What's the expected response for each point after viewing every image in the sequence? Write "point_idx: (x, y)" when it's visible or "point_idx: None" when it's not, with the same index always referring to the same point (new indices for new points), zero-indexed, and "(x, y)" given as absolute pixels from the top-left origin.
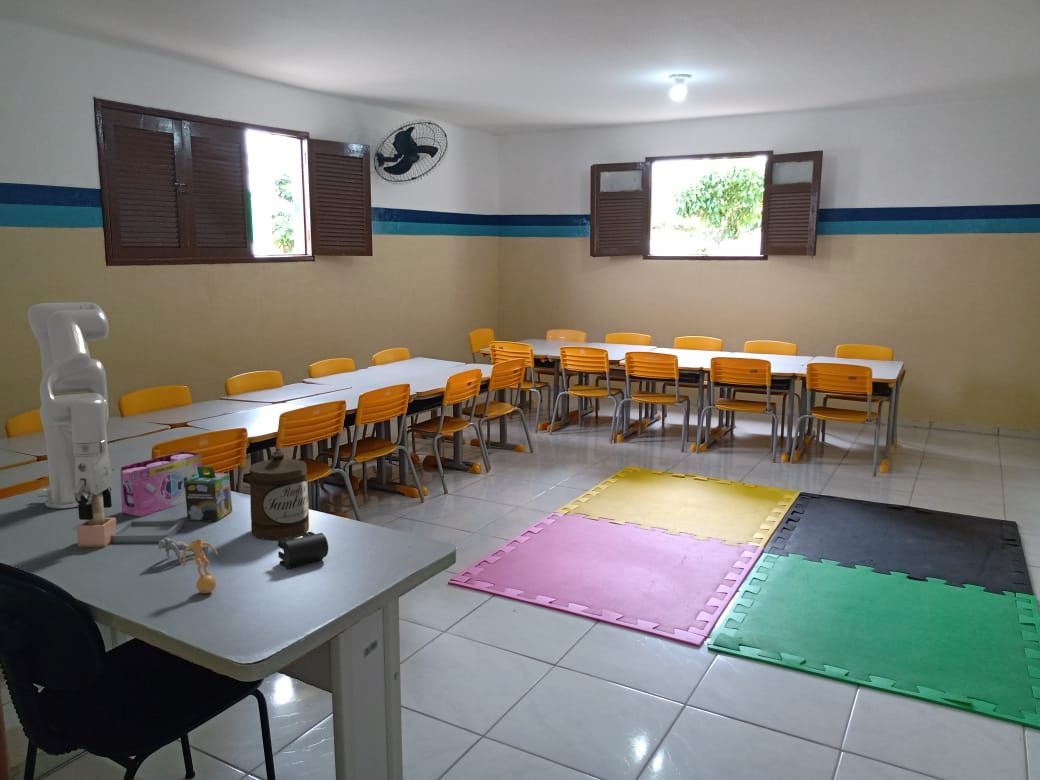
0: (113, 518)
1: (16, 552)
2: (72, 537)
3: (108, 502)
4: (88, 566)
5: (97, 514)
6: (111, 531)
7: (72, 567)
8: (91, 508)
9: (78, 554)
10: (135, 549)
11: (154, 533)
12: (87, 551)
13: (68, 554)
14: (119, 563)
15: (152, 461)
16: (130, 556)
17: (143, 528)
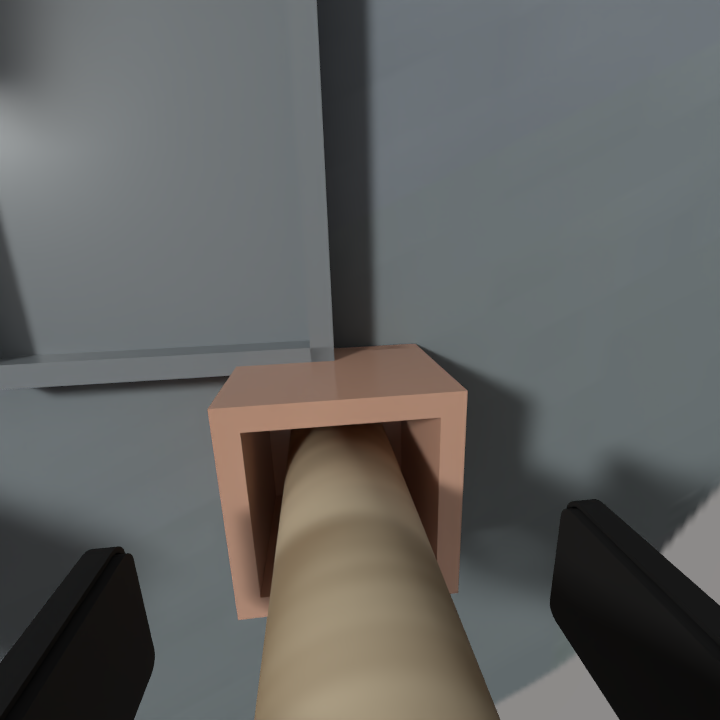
0: (233, 419)
1: None
2: None
3: (98, 619)
4: (709, 282)
5: (422, 534)
6: (322, 369)
7: (703, 360)
8: (715, 608)
9: (520, 431)
10: (463, 113)
11: (156, 75)
12: (477, 409)
13: (514, 479)
14: (704, 109)
15: None
16: (593, 88)
17: (49, 235)
